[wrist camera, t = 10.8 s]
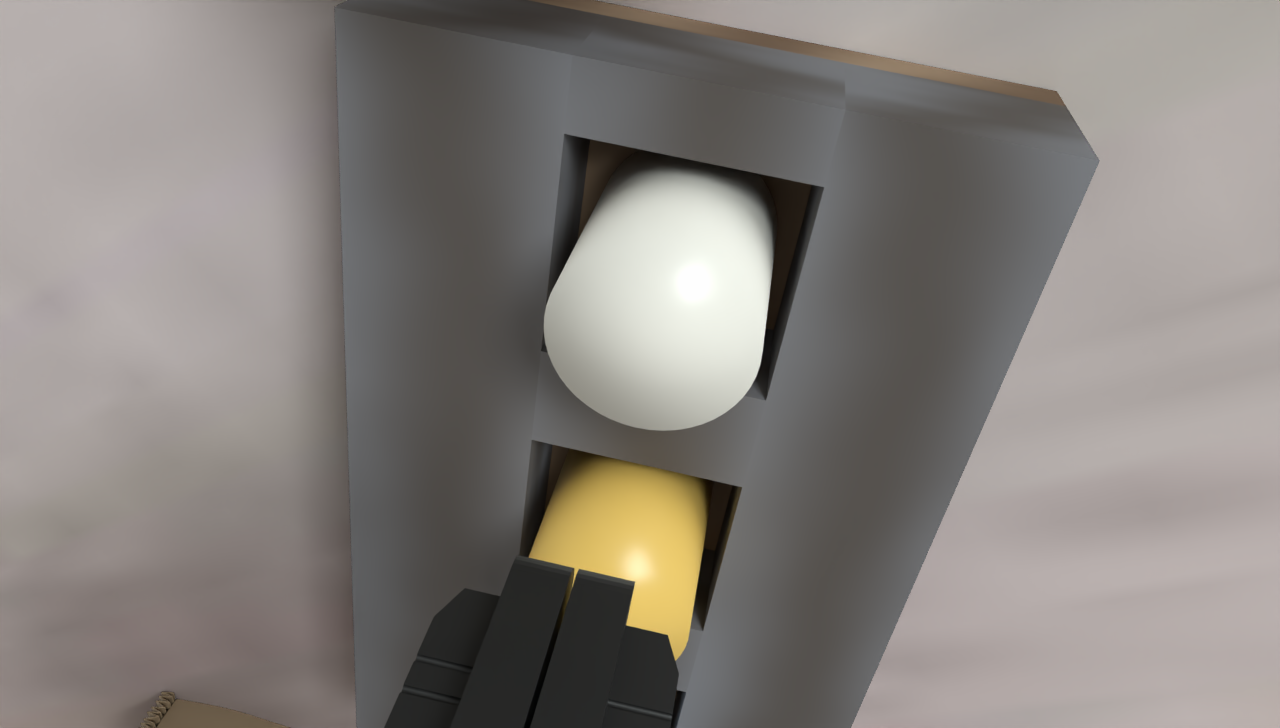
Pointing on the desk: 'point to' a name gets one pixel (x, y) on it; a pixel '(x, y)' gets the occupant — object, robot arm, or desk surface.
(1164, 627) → the desk surface
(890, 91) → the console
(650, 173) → the ivory button
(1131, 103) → the desk surface
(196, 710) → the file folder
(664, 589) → the amber button
